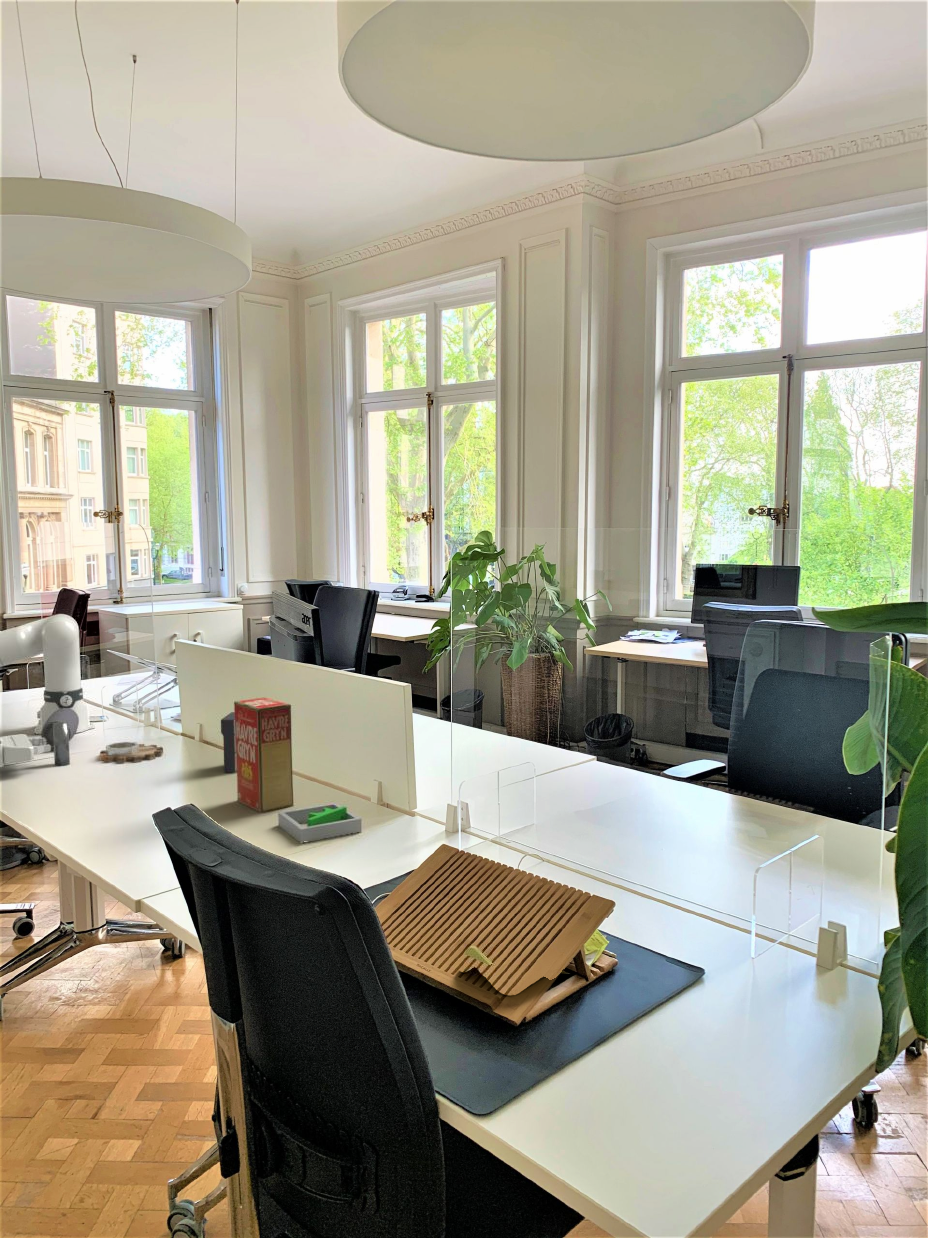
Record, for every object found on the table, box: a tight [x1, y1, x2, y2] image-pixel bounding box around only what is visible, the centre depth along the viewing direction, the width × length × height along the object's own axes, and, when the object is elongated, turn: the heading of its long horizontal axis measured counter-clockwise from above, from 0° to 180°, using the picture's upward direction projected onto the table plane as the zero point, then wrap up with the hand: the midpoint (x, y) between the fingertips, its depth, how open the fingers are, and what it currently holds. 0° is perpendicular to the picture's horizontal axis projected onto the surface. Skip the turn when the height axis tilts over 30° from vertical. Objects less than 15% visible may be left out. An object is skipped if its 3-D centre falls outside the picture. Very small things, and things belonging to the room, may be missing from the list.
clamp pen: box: [277, 802, 362, 843], centre depth 199 cm, size 14×14×3 cm
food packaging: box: [233, 697, 294, 813], centre depth 217 cm, size 13×9×25 cm
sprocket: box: [98, 741, 164, 764], centre depth 266 cm, size 18×18×4 cm
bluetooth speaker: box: [40, 708, 79, 749], centre depth 282 cm, size 23×9×10 cm, turn 17°
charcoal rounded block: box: [220, 711, 237, 774], centre depth 251 cm, size 11×4×15 cm, turn 179°
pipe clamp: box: [306, 805, 348, 827], centre depth 198 cm, size 11×4×5 cm, turn 145°
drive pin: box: [53, 722, 71, 767], centre depth 256 cm, size 4×4×12 cm
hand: (48, 744), depth 253 cm, fingers open, 8 cm apart
